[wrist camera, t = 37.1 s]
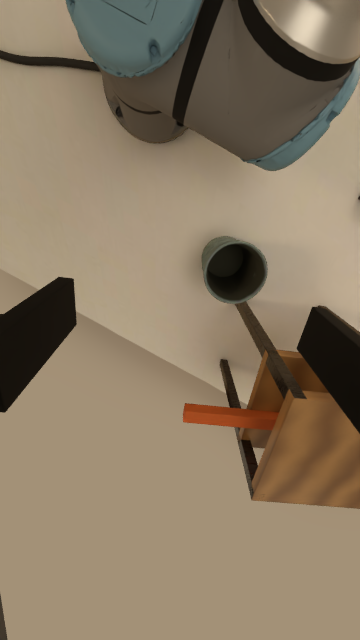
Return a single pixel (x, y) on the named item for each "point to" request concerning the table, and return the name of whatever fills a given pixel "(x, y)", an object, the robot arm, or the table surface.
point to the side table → (295, 431)
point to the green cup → (233, 269)
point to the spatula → (229, 416)
